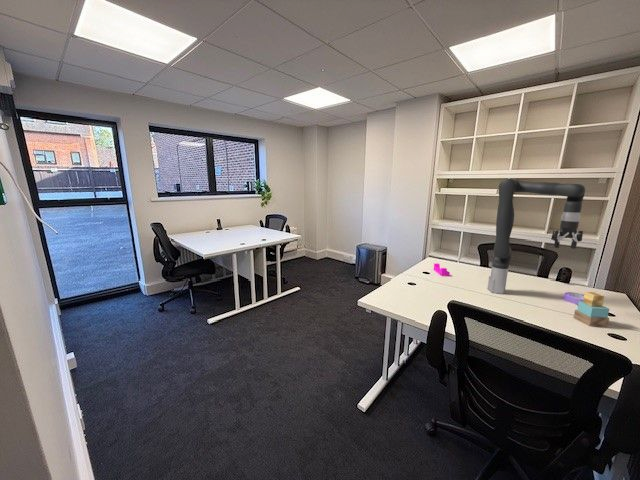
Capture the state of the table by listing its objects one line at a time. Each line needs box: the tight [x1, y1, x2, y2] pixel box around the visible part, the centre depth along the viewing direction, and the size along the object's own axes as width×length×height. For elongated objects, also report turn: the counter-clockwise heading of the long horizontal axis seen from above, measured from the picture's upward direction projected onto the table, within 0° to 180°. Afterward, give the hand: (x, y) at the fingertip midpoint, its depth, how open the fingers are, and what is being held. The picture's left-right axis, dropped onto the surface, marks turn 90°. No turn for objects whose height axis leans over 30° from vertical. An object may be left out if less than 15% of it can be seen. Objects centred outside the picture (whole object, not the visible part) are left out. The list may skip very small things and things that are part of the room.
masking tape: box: [563, 291, 585, 306], centre depth 165 cm, size 12×12×4 cm
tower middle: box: [576, 302, 610, 318], centre depth 138 cm, size 8×8×5 cm
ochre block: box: [583, 291, 605, 307], centre depth 138 cm, size 5×5×6 cm
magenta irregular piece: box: [433, 262, 451, 277], centre depth 215 cm, size 15×6×8 cm, turn 0°
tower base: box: [573, 309, 610, 328], centre depth 139 cm, size 9×9×5 cm
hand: (564, 248), depth 151 cm, fingers open, 8 cm apart
